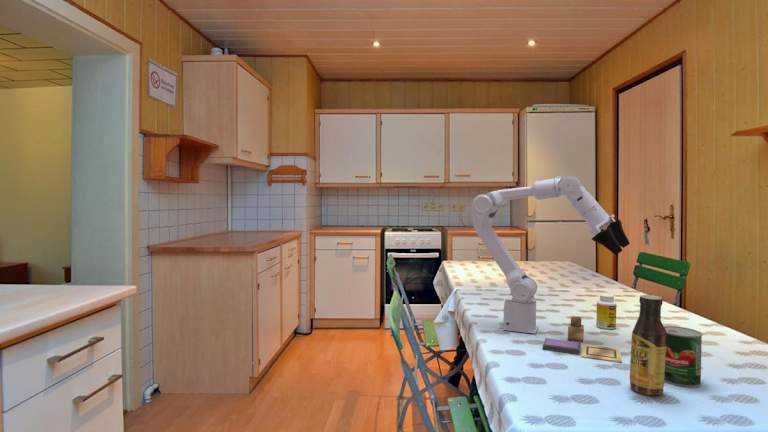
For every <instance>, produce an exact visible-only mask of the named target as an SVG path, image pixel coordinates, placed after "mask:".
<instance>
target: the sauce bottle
mask: <svg viewBox="0 0 768 432" xmlns="http://www.w3.org/2000/svg"><path fill="white" fill-rule="evenodd" d="M638 301H639V306H640V307H639V315H638V318H637V320H636V321H635V322H636V323H635V325H634V328H633V329H632V332H631V340H630V341H631V342H630V343H631V344H630V359H629V360H630V365H629V385H630V388H631V389H632V390H633V391H635V392H637V393H640V394H641V395H645V396H661V395H662V394H663V393H664V386H665V381H664V377H665V359H666V330H665V328H664V324H663V323H662V320H661V318H662V316H661V313H662V305H663V297H661V296H658V295H652V294H641V295H640V296H639V300H638Z"/></svg>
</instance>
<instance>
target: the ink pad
mask: <svg viewBox="0 0 768 432" xmlns="http://www.w3.org/2000/svg"><path fill="white" fill-rule="evenodd" d="M581 345H582V342H574V341H568V340H564V339H556V338H549V337H548V338H547V337H545V339H544V342H543V344H542V350H544V351H548V352H549V351H551V352H557V353H565V354H572V355H578V356H579V355H580V354H581V349H582V347H581Z"/></svg>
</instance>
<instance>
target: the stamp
mask: <svg viewBox="0 0 768 432" xmlns="http://www.w3.org/2000/svg"><path fill="white" fill-rule="evenodd" d="M584 334H585V325H584V324H582V317H580V316H574V315H573V316H571V317H570V323H568V325H567V341H573V342H581V344H584V339H585V336H584Z"/></svg>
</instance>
